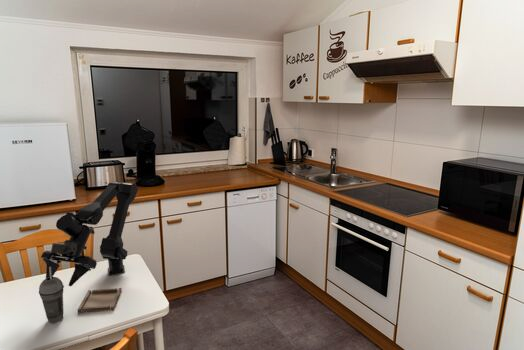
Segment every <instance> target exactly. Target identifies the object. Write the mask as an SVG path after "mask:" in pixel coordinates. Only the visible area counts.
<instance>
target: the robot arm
mask: <svg viewBox="0 0 524 350" xmlns="http://www.w3.org/2000/svg"><path fill="white" fill-rule="evenodd" d="M137 194H138V187H137V185H136V184H135V183H132V182H131V183H130V182H119V181H118V182H117V181H110V182H108V184H107V187H106V188H105V189H104V190H103V191H102V192H101V193H100V194H99V195H98V196H96V198H95V199H94V200H93V201H92V202H91V203H88V204H86V205H84V206H83V207H82V208H81V209H79V211H78V212H76V213H73V212H69V211H67V212H66V213H65V214H64V215H62V216H61V217H59V218H58V219H57V221H56V224H55V226H56V228H57V230H59V231H60V232H63V233H64V234H65V235H67V236H69V239H66V240H65V241H64V242H63V243H61V242H60V243H58V242H57V243H56V242H55V243H54V242H53V243H52V244H51V250H44V251H42V254H41V256H40V259H42V261H43V262H44V264H45V265H46V268H45V269H46V273H45V279H46V278H48V277H50V272H49V267H51V275H52V277H54V275H55V274H56V273H57V271H58V269H59V268H60V263H62V262H64V263H71V264H74V270H73V273H72V275H71V278H70V280H69V283H68V286H69V287H72V286H73V285H74V284H75V283H77V282H78V281H79V279H81V277H82V276H84V275H85V274H87V273H88V272H91V270H95V269H96V268H97V260H96V259H94V258H92V257H91V256H89V255H88V256H87V255H82V253H83V251H84V250H87V246H86V245H87V242H88V239H89V237H90V235H95V234H96V233H95V230H94V227H93V226H97V225H98V224H99V222H100V221H101V220H102V218H103V216H104V210H105V209H106V208H107V207H108V206H109V204H110V203H111V202H112V201H113V200H114V199H115V198H116V200H117V203H116V206H115V211H114V214H113V218H112V222H111V225H110V229H109V233H108V235H107V236H106V237H103V238H102V239H101V244H100V246H99V253H100V255H101V258H102V259H103V260H105V259H106V260H107V262H108V263H107V264H108V268H107V274H108V276H112V275H118V274H124V273H126V269H125V264H124V260H126V259H127V257H128V250H126V249H125V248H124V240H123V239H122V235H123V231H124V227H125V223H126V219H127V216H128V211H129V207H130V204H131V203H132V202H134V200H135V198H136V196H137ZM89 225H91V226H89Z"/></svg>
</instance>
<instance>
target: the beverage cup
mask: <svg viewBox="0 0 524 350" xmlns="http://www.w3.org/2000/svg"><path fill="white" fill-rule="evenodd" d="M49 272H50V277H48V278H46V277H45V278H44V279H43V280H42V281H41V283H40V284H39V287H38V294H39V297H40V298H41V301H42V305H43V309H44V312H45V316H46V319H47V321H48V323H49V324H50V325H51V324H52V325H54V324H57V323H59V322H61V321H63V319H64V314H65V313H64V287H65V285H64V283H63V282H62V280H61V279H60V278H59V277H56V276H53V277H52V275H51V267H49Z"/></svg>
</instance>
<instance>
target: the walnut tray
mask: <svg viewBox="0 0 524 350" xmlns="http://www.w3.org/2000/svg"><path fill="white" fill-rule="evenodd" d="M122 292H123V290H122V287H120V288H119V287H118V288H117V287H116V288H104V289H103V288H101V289H88V290H87V292H86V294H85V296H84V297H83V299H82V301H81V303H80V304H79V306H78V308H77V314H88V313H99V312H100V313H101V312H103V313H104V312H114V311H115V309H116V307H117V304H118V302H119V300H120V298H121V296H122V295H121V294H122Z"/></svg>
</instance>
